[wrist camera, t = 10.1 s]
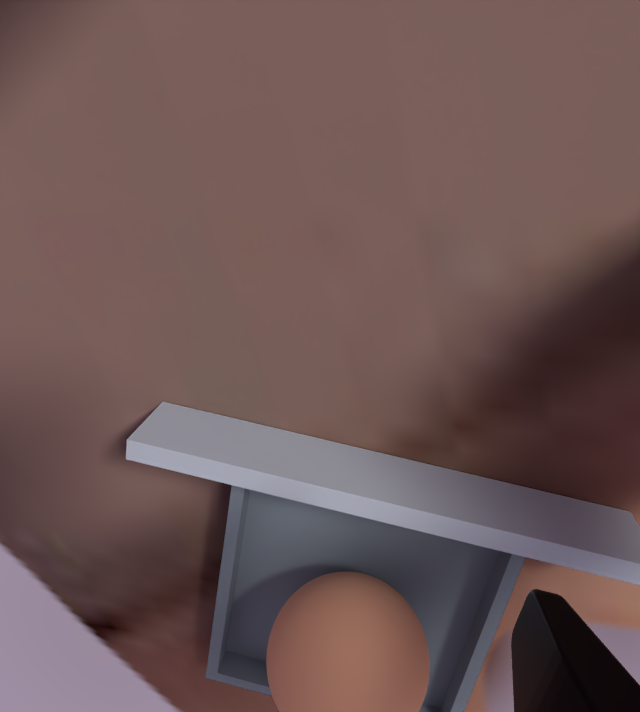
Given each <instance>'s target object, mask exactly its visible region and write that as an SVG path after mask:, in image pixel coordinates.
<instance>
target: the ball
mask: <svg viewBox="0 0 640 712" xmlns="http://www.w3.org/2000/svg"><path fill="white" fill-rule="evenodd" d="M266 667H267V677H268V683H269V687H270V691H271V694H272V697H273V700H274V702H275V704H276V707H277V709H278V711H279V712H419V711H420V708H421V706H422V704H423V701H424V698H425V695H426V691H427V687H428V682H429V671H430V660H429V651H428V644H427V641H426V637H425V634H424V631H423V628H422V626H421V624H420V621H419V619H418V617H417V615H416V613H415V612H414V610H413V609H412V607H411V606H410V605H409V603H408V602H407V601H406V600H405V599H404V597H403V596H402V595H401V594H399V593H398V592H397V591H396V590H395V589H394V588H392V587H391V586H390V585H388V584H387V583H385V582H383V581H382V580H380V579H378V578H375V577H373V576H370V575H367V574H363V573H358V572H349V571H345V572H334V573H329V574H325V575H322V576H320V577H317V578H315V579H313V580H311V581H309V582H308V583H306V584H305V585H303V586H302V587H300V588H299V589H298V590H297V591H296V592H295V593H294V594H293V595H292V596H291V597H290V598H289V599H288V600H287V602H286V603H285V604H284V606H283V607H282V609H281V610H280V612H279V614H278V616H277V618H276V620H275V622H274V624H273V627H272V630H271V633H270V637H269V641H268V647H267V656H266Z"/></svg>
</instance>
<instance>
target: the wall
mask: <svg viewBox="0 0 640 712" xmlns="http://www.w3.org/2000/svg"><path fill="white" fill-rule="evenodd" d="M126 459H127V460H132V461H136V462H140V463H144V464H148V465H152V466H156V467H160V468H164V469H168V470H172V471H176V472H180V473H185V474H189V475H193V476H197V477H201V478H205V479H209V480H213V481H217V482H221V483H225V484H229V485H233V486H238V487H242V488H246V489H250V490H254V491H258V492H262V493H266V494H270V495H274V496H278V497H282V498H286V499H290V500H295V501H299V502H303V503H307V504H311V505H315V506H319V507H323V508H327V509H331V510H335V511H339V512H343V513H348V514H352V515H356V516H360V517H364V518H368V519H372V520H376V521H380V522H384V523H388V524H392V525H396V526H401V527H405V528H409V529H413V530H417V531H421V532H425V533H429V534H433V535H437V536H441V537H445V538H449V539H453V540H458V541H462V542H466V543H470V544H474V545H478V546H482V547H486V548H490V549H494V550H498V551H502V552H506V553H511V554H515V555H519V556H523V557H527V558H531V559H535V560H539V561H543V562H547V563H551V564H555V565H559V566H564V567H568V568H572V569H576V570H580V571H584V572H588V573H592V574H596V575H600V576H604V577H608V578H612V579H617V580H621V581H625V582H629V583H633V584H637V585H640V527H639V525H638V523H637V522H636V520H635V518H634V516H633V515H632V513H631V512H629V511H625V510H621V509H617V508H612V507H608V506H604V505H600V504H595V503H591V502H587V501H583V500H578V499H574V498H570V497H566V496H561V495H557V494H553V493H549V492H544V491H540V490H536V489H532V488H528V487H523V486H519V485H515V484H511V483H506V482H502V481H498V480H494V479H489V478H485V477H481V476H477V475H472V474H468V473H464V472H460V471H455V470H451V469H447V468H443V467H438V466H434V465H430V464H426V463H421V462H417V461H413V460H409V459H404V458H400V457H396V456H392V455H387V454H383V453H379V452H375V451H370V450H366V449H362V448H358V447H353V446H349V445H345V444H341V443H336V442H332V441H328V440H324V439H320V438H315V437H311V436H307V435H303V434H298V433H294V432H290V431H286V430H281V429H277V428H273V427H269V426H264V425H260V424H256V423H252V422H247V421H243V420H239V419H235V418H230V417H226V416H222V415H218V414H213V413H209V412H205V411H201V410H196V409H192V408H188V407H184V406H179V405H175V404H171V403H167V402H162V403H161V404H160V405H159V406H158V407H157V408H156V409H155V410H154V411H153V412H152V413H151V415H150V416H149V417H148V418H147V419H146V420H145V421H144V422H143V423H142V424H141V425H140V426H139V427H138V428H137V429H136V430H135V431H134V432H133V434H132V435H131V436H130V437H129V438H128V439H127V446H126Z"/></svg>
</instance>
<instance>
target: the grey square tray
mask: <svg viewBox="0 0 640 712" xmlns="http://www.w3.org/2000/svg"><path fill="white" fill-rule="evenodd" d="M525 558H526V557H523V556H519V555H515V554H511V553H506V552H502V551H498V550H494V549H490V548H486V547H482V546H478V545H474V544H470V543H466V542H462V541H458V540H453V539H449V538H445V537H441V536H437V535H433V534H429V533H425V532H421V531H417V530H413V529H409V528H405V527H401V526H396V525H392V524H388V523H384V522H380V521H376V520H372V519H368V518H364V517H360V516H356V515H352V514H348V513H343V512H339V511H335V510H331V509H327V508H323V507H319V506H315V505H311V504H307V503H303V502H299V501H295V500H290V499H286V498H282V497H278V496H274V495H270V494H266V493H262V492H258V491H254V490H250V489H246V488H242V487H238V486H233V485H232V487H231V495H230V502H229V509H228V516H227V524H226V531H225V538H224V546H223V553H222V560H221V568H220V575H219V582H218V590H217V597H216V604H215V611H214V619H213V626H212V633H211V641H210V648H209V655H208V663H207V670H206V677H205V678H207V679H211V680H214V681H218V682H222V683H225V684H229V685H233V686H236V687H240V688H244V689H247V690H251V691H255V692H258V693H262V694H265V695H269V696H272V694H271V691H270V687H269V683H268V677H267V667H266V656H267V647H268V641H269V637H270V633H271V630H272V627H273V624H274V622H275V620H276V618H277V616H278V614H279V612H280V610H281V609H282V607H283V606H284V604H285V603H286V602H287V600H288V599H289V598H290V597H291V596H292V595H293V594H294V593H295V592H296V591H297V590H298V589H299V588H300V587H302V586H303V585H305V584H306V583H308V582H309V581H311V580H313V579H315V578H317V577H320V576H322V575H325V574H329V573H334V572H345V571H349V572H358V573H363V574H367V575H370V576H373V577H375V578H378V579H380V580H382V581H383V582H385V583H387V584H388V585H390V586H391V587H392V588H394V589H395V590H396V591H397V592H398V593H399V594H401V595H402V596H403V597H404V599H405V600H406V601H407V602H408V603H409V605H410V606H411V607H412V609H413V610H414V612H415V613H416V615H417V617H418V619H419V621H420V624H421V626H422V628H423V631H424V634H425V637H426V641H427V644H428V651H429V660H430V671H429V682H428V687H427V691H426V695H425V698H424V701H423V704H422V706H421V708H420V711H419V712H464V710H465V707H466V705H467V702H468V700H469V697H470V695H471V692H472V690H473V687H474V685H475V683H476V680H477V678H478V675H479V673H480V670H481V668H482V665H483V663H484V660H485V658H486V655H487V653H488V650H489V648H490V645H491V643H492V640H493V638H494V635H495V633H496V630H497V628H498V625H499V623H500V620H501V618H502V615H503V613H504V610H505V608H506V605H507V603H508V600H509V598H510V595H511V593H512V590H513V588H514V586H515V583H516V581H517V578H518V576H519V573H520V571H521V568H522V566H523V563H524V561H525Z"/></svg>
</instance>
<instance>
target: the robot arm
mask: <svg viewBox="0 0 640 712" xmlns="http://www.w3.org/2000/svg"><path fill="white" fill-rule="evenodd" d="M511 644H512V645H511V647H512V670H513V694H514V712H640V685H639V684H638V683H637V682H636V680H635V679H634V678H633V677H632V676H631V675H630V674H629V673H628V671H627V670H626V669H625V668H624V667H623V666H622V664H621V663H620V662H619V661H618V660H617V659H616V658H615V656H614V655H613V654H612V653H611V652H610V651H609V650H608V648H607V647H606V646H605V645H604V644H603V643H602V642H601V640H600V639H599V638H598V637H597V636H596V635H595V634H594V632H593V631H592V630H591V629H590V628H589V627H588V626H587V624H586V623H585V622H584V621H583V620H582V619H581V617H580V616H579V615H578V614H577V613H576V612H575V611H574V609H573V608H572V607H571V606H570V605H569V604H568V603H567V601H566V600H565V599H564V598H563V597H561V596H560V595H558V594H554V593H550V592H546V591H542V590H538V589H534V590H532V591H530V593H529V594H528V596H527V598H526V600H525V603H524V605H523V607H522V610H521V612H520V615H519V617H518V619H517V622H516V624H515V626H514V629H513V633H512V642H511Z"/></svg>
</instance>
